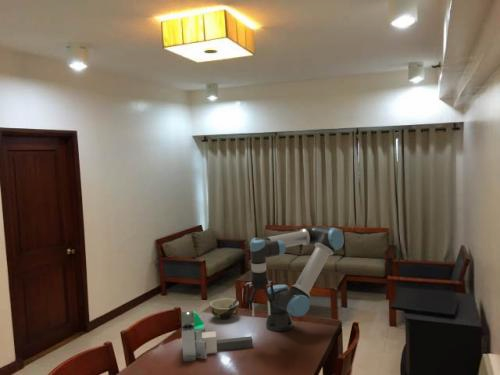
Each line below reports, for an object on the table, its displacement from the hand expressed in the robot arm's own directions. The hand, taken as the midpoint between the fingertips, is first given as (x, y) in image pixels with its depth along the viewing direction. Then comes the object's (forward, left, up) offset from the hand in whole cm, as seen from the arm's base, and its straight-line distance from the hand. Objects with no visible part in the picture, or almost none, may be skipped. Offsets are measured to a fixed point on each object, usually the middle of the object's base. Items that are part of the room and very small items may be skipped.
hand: (261, 315), depth 214 cm
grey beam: (+19, 0, -15) cm, 25 cm away
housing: (+34, 0, -15) cm, 38 cm away
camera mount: (+35, -27, -16) cm, 47 cm away
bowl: (+16, -43, -15) cm, 48 cm away
